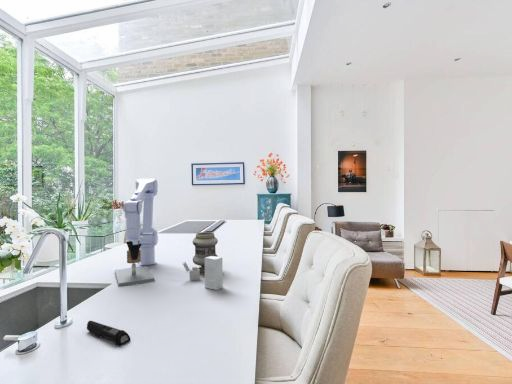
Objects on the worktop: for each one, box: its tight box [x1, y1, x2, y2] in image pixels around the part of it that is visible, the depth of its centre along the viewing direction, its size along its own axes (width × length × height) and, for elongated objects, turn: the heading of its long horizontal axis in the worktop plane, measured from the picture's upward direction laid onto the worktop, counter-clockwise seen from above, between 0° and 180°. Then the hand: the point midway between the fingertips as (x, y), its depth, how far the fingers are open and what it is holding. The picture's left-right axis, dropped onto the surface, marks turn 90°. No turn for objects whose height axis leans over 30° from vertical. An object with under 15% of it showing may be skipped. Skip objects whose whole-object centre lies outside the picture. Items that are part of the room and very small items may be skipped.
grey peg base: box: [114, 263, 156, 287], centre depth 133 cm, size 22×14×6 cm, turn 29°
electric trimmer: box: [86, 320, 131, 347], centre depth 80 cm, size 4×16×3 cm, turn 60°
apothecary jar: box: [192, 231, 219, 275], centre depth 141 cm, size 12×12×18 cm
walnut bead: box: [126, 249, 141, 264], centre depth 133 cm, size 5×5×5 cm
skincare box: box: [204, 256, 224, 291], centre depth 118 cm, size 6×4×12 cm
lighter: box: [182, 261, 201, 281], centre depth 128 cm, size 7×2×8 cm, turn 107°
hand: (133, 258), depth 133 cm, fingers closed on walnut bead, 5 cm apart
